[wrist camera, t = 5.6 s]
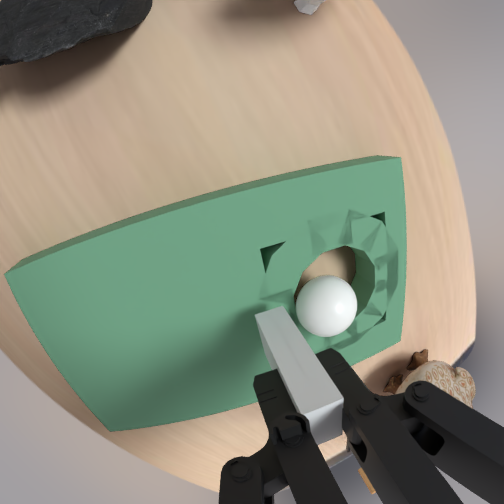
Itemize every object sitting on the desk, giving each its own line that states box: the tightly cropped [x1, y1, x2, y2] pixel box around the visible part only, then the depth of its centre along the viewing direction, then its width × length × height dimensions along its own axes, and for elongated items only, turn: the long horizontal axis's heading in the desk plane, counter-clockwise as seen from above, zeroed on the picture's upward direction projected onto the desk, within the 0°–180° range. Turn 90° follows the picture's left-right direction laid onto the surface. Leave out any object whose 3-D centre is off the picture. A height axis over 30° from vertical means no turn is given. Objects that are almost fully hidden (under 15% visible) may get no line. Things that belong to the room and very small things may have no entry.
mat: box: [4, 155, 407, 494], centre depth 12 cm, size 14×24×12 cm, turn 104°
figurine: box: [383, 350, 475, 409], centre depth 18 cm, size 9×10×15 cm
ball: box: [296, 275, 357, 337], centre depth 15 cm, size 4×4×4 cm
